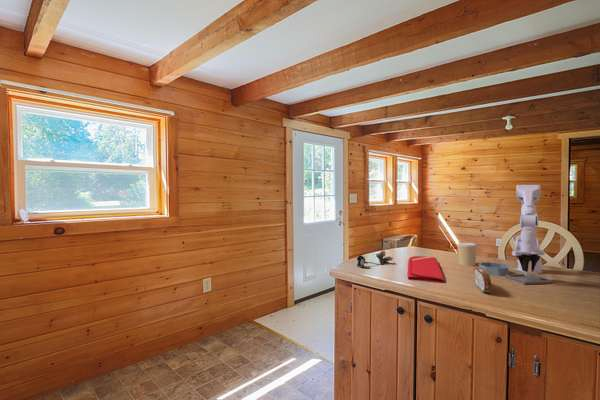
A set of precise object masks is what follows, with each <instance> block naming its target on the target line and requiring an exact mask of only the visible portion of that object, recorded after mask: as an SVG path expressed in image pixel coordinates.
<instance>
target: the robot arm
mask: <svg viewBox="0 0 600 400" xmlns="http://www.w3.org/2000/svg"><path fill="white" fill-rule="evenodd" d="M541 190H542V189H541V185H540V184H517V185H516V194H515V196H516V200H517V202H519V203H521V208H520V211H521V212H520V216H519V226H520V234H519V235H517V236H516V238H515V245H514V246H515V248H514V250H512V251H511V255H512V256H515V257H516V258H517V267H515V268H514V267H513V269H514V270H517V271H520V272H523V273H525V272H528V264H529V261H532V267H531V273H535V274H539V273H540V274H542V273H544V272H543V271H542V265H543V264H542V262H543V261H542V257H541V256H545V250H543V249H540V239H539V237H537V235H538V234H537V233H538V229H537V228H539V216H538V213H537V206H536V205H535V203H537V202H539V201H540V197H541V194H542V191H541Z"/></svg>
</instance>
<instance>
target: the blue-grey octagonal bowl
mask: <svg viewBox="0 0 600 400" xmlns="http://www.w3.org/2000/svg"><path fill="white" fill-rule="evenodd" d="M478 268H483V269H485V270H486V271H487V272H488V273H489V275H491V276H492V275H493V276H498V277H499V276H501V277H502V276H505V275H510V274H509V273H510V265H506V264H503V263H499V262H491V261H486V262H485V261H483V262H482V261H481V262H480V263H478Z"/></svg>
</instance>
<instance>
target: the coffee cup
mask: <svg viewBox="0 0 600 400" xmlns="http://www.w3.org/2000/svg"><path fill="white" fill-rule="evenodd" d="M477 249H478V245H477V244H476V243H475V242H474V243H473V242H457V253H458V254H457V255H458V264H459V265H461V266H465V267H474V266H476V259H477Z"/></svg>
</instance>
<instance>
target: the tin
mask: <svg viewBox="0 0 600 400" xmlns="http://www.w3.org/2000/svg"><path fill="white" fill-rule="evenodd" d="M490 275H491V274H489V273H488V272H487V271H486V270H485V269H483V268H479V267H475V268H474V282H475V285H476V287H478V289H479V290H480V292H481V293H482V294H483V293H485V294H491V293H492V285H493V284H492V279H491V276H490Z"/></svg>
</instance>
